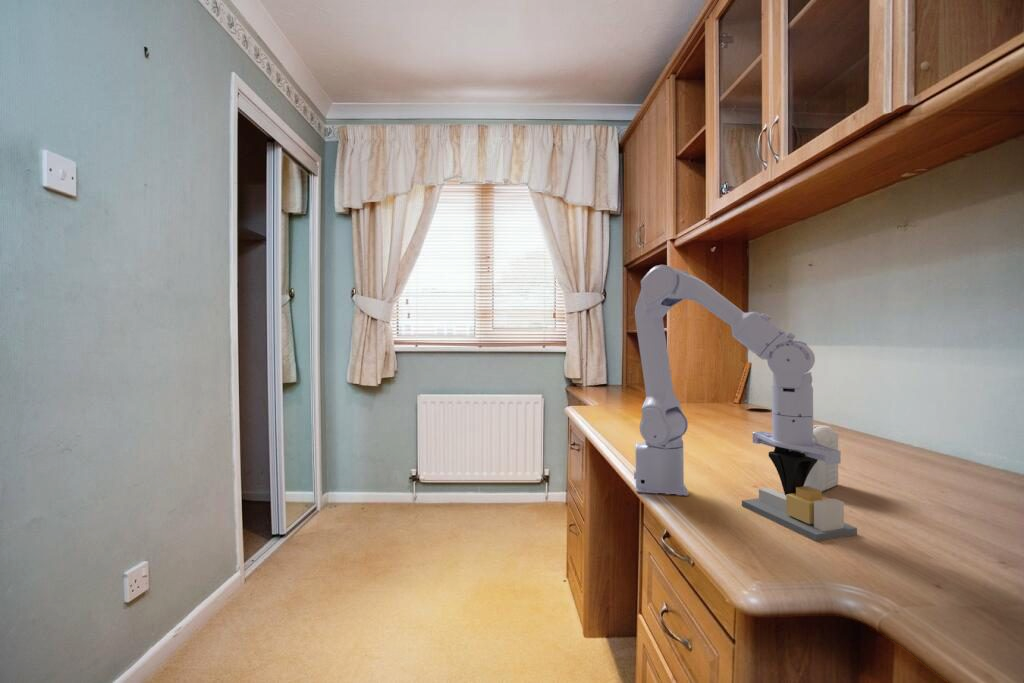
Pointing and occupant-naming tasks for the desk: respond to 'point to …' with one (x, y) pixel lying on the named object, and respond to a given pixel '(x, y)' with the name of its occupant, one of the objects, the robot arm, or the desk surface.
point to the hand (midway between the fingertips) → (792, 495)
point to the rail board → (824, 526)
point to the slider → (803, 503)
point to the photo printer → (822, 472)
